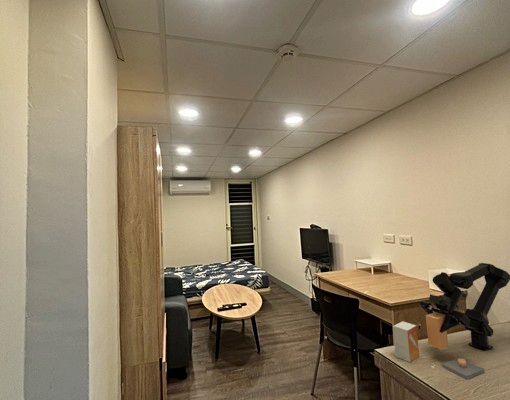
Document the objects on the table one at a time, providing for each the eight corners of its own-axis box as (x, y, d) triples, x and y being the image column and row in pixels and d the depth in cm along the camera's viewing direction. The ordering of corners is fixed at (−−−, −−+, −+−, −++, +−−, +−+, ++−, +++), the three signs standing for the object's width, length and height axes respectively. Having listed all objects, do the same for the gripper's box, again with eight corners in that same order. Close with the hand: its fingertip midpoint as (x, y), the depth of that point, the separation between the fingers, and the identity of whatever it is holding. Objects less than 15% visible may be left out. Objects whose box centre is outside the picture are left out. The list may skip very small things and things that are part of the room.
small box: (410, 362, 110) (407, 330, 110) (395, 356, 115) (392, 325, 116) (419, 356, 114) (417, 325, 115) (404, 350, 119) (402, 320, 120)
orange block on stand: (436, 341, 115) (433, 313, 116) (448, 346, 110) (445, 316, 111) (428, 343, 113) (425, 315, 114) (440, 349, 109) (437, 319, 109)
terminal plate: (459, 360, 109) (458, 351, 109) (484, 372, 101) (483, 362, 101) (442, 367, 105) (441, 357, 106) (467, 379, 97) (466, 368, 97)
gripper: (419, 282, 123) (403, 311, 119) (462, 292, 106) (445, 326, 101) (434, 297, 125) (418, 325, 121) (477, 309, 108) (461, 343, 103)
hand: (434, 329), depth 112 cm, fingers closed on orange block on stand, 5 cm apart
